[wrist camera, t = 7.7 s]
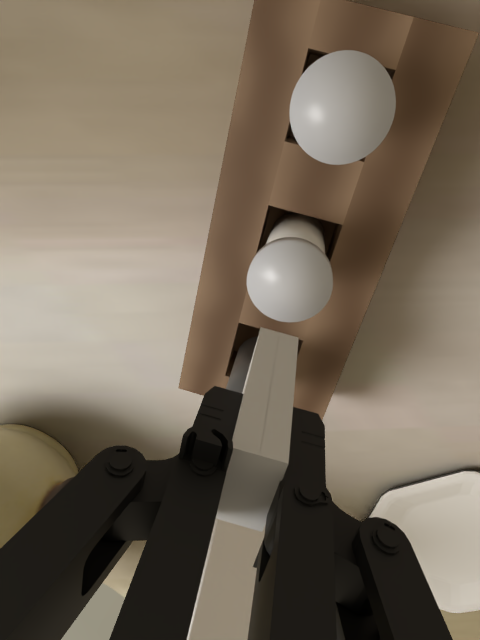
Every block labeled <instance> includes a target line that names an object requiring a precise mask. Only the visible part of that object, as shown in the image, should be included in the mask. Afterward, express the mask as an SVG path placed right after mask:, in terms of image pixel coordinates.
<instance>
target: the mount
mask: <svg viewBox="0 0 480 640" xmlns="http://www.w3.org/2000/svg"><path fill="white" fill-rule="evenodd" d="M478 35H479V33H478V32H474V31H470V30H465V29H461V28H457V27H453V26H449V25H445V24H441V23H437V22H433V21H429V20H425V19H421V18H416V17H412V16H408V15H404V14H400V13H396V12H392V11H388V10H384V9H380V8H376V7H372V6H368V5H363V4H359V3H355V2H351V1H347V0H254V5H253V10H252V15H251V20H250V25H249V30H248V35H247V41H246V46H245V51H244V56H243V61H242V66H241V71H240V76H239V82H238V87H237V92H236V97H235V102H234V107H233V112H232V117H231V122H230V128H229V133H228V138H227V143H226V148H225V153H224V158H223V163H222V168H221V174H220V179H219V184H218V189H217V194H216V199H215V204H214V209H213V214H212V220H211V225H210V230H209V235H208V240H207V245H206V250H205V255H204V261H203V266H202V271H201V276H200V281H199V286H198V291H197V296H196V301H195V307H194V312H193V317H192V322H191V327H190V332H189V337H188V342H187V347H186V353H185V358H184V363H183V368H182V373H181V378H180V383H179V389H183V390H186V391H190V392H193V393H197V394H200V395H205V393H206V392H207V391H209V390H210V389H211V388H213V387H214V386H217V387H221V388H224V389H226V386H227V383H228V380H229V377H230V374H231V371H232V368H233V365H234V362H235V359H236V356H237V353H238V350H239V348H240V346H241V345H242V344H243V343H244V342H245V341H246V340H248V339H250V338H252V337H256V336H258V335H259V331H260V328H261V327H262V328H266V329H269V330H273V331H276V332H280V333H284V334H287V335H291V336H295V337H298V338H299V339H298V352H297V364H296V376H295V389H294V401H293V407H296V408H300V409H303V410H307V411H310V412H314V413H317V414H319V416H320V418H321V420H322V419H323V416H324V414H325V412H326V409H327V407H328V404H329V402H330V399H331V397H332V394H333V392H334V389H335V387H336V384H337V382H338V380H339V377H340V375H341V372H342V370H343V367H344V365H345V362H346V360H347V357H348V355H349V352H350V350H351V348H352V345H353V343H354V340H355V338H356V335H357V333H358V330H359V328H360V325H361V323H362V320H363V318H364V315H365V313H366V311H367V308H368V306H369V303H370V301H371V298H372V296H373V293H374V291H375V288H376V286H377V283H378V281H379V279H380V276H381V274H382V271H383V269H384V266H385V264H386V261H387V259H388V256H389V254H390V251H391V249H392V247H393V244H394V242H395V239H396V237H397V234H398V232H399V229H400V227H401V224H402V222H403V219H404V217H405V215H406V212H407V210H408V207H409V205H410V202H411V200H412V197H413V195H414V192H415V190H416V187H417V185H418V182H419V180H420V178H421V175H422V173H423V170H424V168H425V165H426V163H427V160H428V158H429V155H430V153H431V150H432V148H433V146H434V143H435V141H436V138H437V136H438V133H439V131H440V128H441V126H442V123H443V121H444V118H445V116H446V114H447V111H448V109H449V106H450V104H451V101H452V99H453V96H454V94H455V91H456V89H457V86H458V84H459V81H460V79H461V77H462V74H463V72H464V69H465V67H466V64H467V62H468V59H469V57H470V54H471V52H472V49H473V47H474V45H475V42H476V40H477V37H478ZM342 50H354V51H359V52H362V53H365V54H368V55H370V56H371V57H373V58H374V59H376V60H377V61H378V62H379V63H380V64H381V65H382V66H383V67H384V68H385V69H386V71H387V72H388V74H389V76H390V78H391V80H392V83H393V85H394V90H395V97H396V109H395V115H394V119H393V122H392V125H391V127H390V130H389V132H388V133H387V135H386V137H385V138H384V140H383V141H382V142H381V144H380V145H379V146H378V147H377V148H376V149H375V150H374V151H373V152H371V153H370V154H369V155H367V156H366V157H364V158H362V159H360V160H358V161H355V162H353V163H349V164H343V165H332V164H326V163H323V162H320V161H318V160H316V159H314V158H312V157H311V156H309V155H308V154H307V153H306V152H305V151H304V150H303V149H302V148H301V147H300V145H299V144H298V142H297V141H296V139H295V137H294V134H293V132H292V128H291V124H290V114H289V112H290V102H291V97H292V94H293V91H294V88H295V86H296V84H297V82H298V80H299V79H300V77H301V76H302V74H303V73H304V72H305V70H306V69H307V68H308V67H309V66H310V65H311V64H313V63H314V62H315V61H316V60H318V59H320V58H321V57H323V56H325V55H327V54H330V53H333V52H336V51H342ZM289 212H296V213H300V214H303V215H307V216H311V217H314V218H316V219H317V220H318V221H319V222H320V223H321V225H322V227H323V230H324V235H325V255H326V256H327V258H328V260H329V262H330V264H331V268H332V273H333V289H332V293H331V296H330V299H329V301H328V302H327V304H326V305H325V307H324V308H323V309H322V310H321V311H320V312H319V313H317V314H316V315H315V316H313V317H311V318H309V319H306V320H304V321H300V322H281V321H277V320H274V319H272V318H270V317H268V316H266V315H265V314H263V313H262V312H261V311H259V309H258V308H257V307H256V306H255V305H254V304H253V302H252V300H251V298H250V296H249V294H248V290H247V273H248V270H249V267H250V265H251V262H252V260H253V258H254V256H255V255H256V253H257V252H258V251H259V250H260V249H261V248H262V247H263V246H264V245H266V242H267V240H268V237H269V234H270V232H271V229H272V227H273V225H274V223H275V222H276V221H277V220H278V219H279V218H280V217H281V216H283V215H284V214H286V213H289Z"/></svg>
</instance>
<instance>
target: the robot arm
mask: <svg viewBox="0 0 480 640" xmlns="http://www.w3.org/2000/svg"><path fill="white" fill-rule="evenodd" d="M298 339H299V338H298V337H295V336H291V335H287V334H284V333H280V332H276V331H273V330H269V329H266V328H262V327H261V328H260V331H259V335H258V338H257V342H256V345H255V349H254V353H253V356H252V360H251V363H250V367H249V370H248V374H247V377H246V381H245V384H244V388H243V392H242V393H239V392H235V391H232V390H228V389H224V388H221V387H217V386H214V387H213V388H211V389H210V390H209V391H207V392H206V393H205V395H204V398H203V400H202V403H201V406H200V408H199V411H198V414H197V416H196V419H195V422H194V424H193V427H191V428H189V429H187V431H186V432H185V434H184V435H183V438H182V443H181V448H180V452H179V454H178V455H176V456H175V457H173V458H170V459H167V460H158V461H154V460H145V458H144V456H143V455H142V454H141V453H140V452H139V451H138V450H136V449H134V448H131V447H128V446H113V447H109V448H106V449H104V450H103V451H101V452H100V453H98V454H97V455H96V456H95V457H94V458H93V459H92V460H91V461H90V462H89V463H88V464H87V465H86V466H85V467H84V468H83V469H82V470H81V471H80V472H79V473H78V474H77V475H76V476H75V477H74V478H73V479H72V480H70V481H69V482H68V483H67V484H66V485H65V486H64V487H63V488H62V489H61V490H60V491H59V492H58V493H57V494H56V495H55V496H54V497H53V498H52V499H51V500H50V501H49V502H48V503H47V504H46V505H45V506H44V507H43V508H42V509H41V510H40V511H39V512H37V513H36V514H35V515H34V516H33V517H32V518H31V519H30V520H29V521H28V522H27V523H26V524H25V525H24V526H23V527H22V528H21V529H20V530H19V531H18V532H17V533H16V534H15V535H14V536H13V537H12V538H11V539H10V540H9V541H8V542H7V543H6V544H4V545H3V546H2V547H1V548H0V640H61V639H62V637H63V636H64V634H65V633H66V632H67V630H68V629H69V628H70V626H71V625H72V623H73V622H74V620H75V619H76V618H77V617H78V615H79V614H80V613H81V611H82V610H83V608H84V607H85V606H86V604H87V603H88V602H89V600H90V599H91V598H92V596H93V595H94V593H95V592H96V591H97V589H98V588H99V587H100V585H101V584H102V583H103V581H104V580H105V578H106V577H107V576H108V574H109V573H110V572H111V570H112V569H113V567H114V566H115V565H116V563H117V562H118V561H119V559H120V558H121V557H122V555H123V554H124V552H125V551H126V550H127V548H128V547H129V546H130V544H131V543H132V541H135V540H147V542H146V545H145V547H144V550H143V552H142V555H141V558H140V560H139V563H138V566H137V568H136V571H135V574H134V576H133V579H132V581H131V584H130V587H129V589H128V592H127V595H126V597H125V600H124V603H123V605H122V608H121V610H120V613H119V616H118V618H117V621H116V624H115V626H114V629H113V632H112V634H111V637H110V639H109V640H187V636H188V632H189V628H190V624H191V619H192V615H193V611H194V607H195V603H196V598H197V594H198V590H199V586H200V582H201V577H202V573H203V569H204V565H205V561H206V556H207V552H208V548H209V544H210V540H211V535H212V531H213V527H214V523H215V519H219V520H223V521H226V522H230V523H233V524H236V525H240V526H243V527H247V528H250V529H254V530H257V531H260V532H262V531H263V529H264V526H265V524H266V526H265V534H264V539H263V541H262V544H261V547H260V549H259V552H258V554H257V557H256V559H255V562H254V565H253V567H254V568H257V571H256V579H255V586H254V594H253V601H252V609H251V616H250V624H249V631H248V639H247V640H453V639H452V637H451V635H450V632H449V630H448V628H447V625H446V623H445V621H444V619H443V616H442V614H441V612H440V609H439V607H438V605H437V603H436V600H435V598H434V596H433V593H432V591H431V589H430V587H429V584H428V582H427V580H426V577H425V575H424V573H423V571H422V568H421V566H420V564H419V561H418V559H417V557H416V555H415V552H414V550H413V548H412V545H411V543H410V541H409V540H408V538H407V536H406V535H405V533H404V532H403V531H402V530H401V529H400V528H399V527H398V526H397V525H395V524H394V523H392V522H390V521H388V520H387V519H383V518H379V517H370V518H367V519H366V520H364V521H363V522H360V521H358V520H356V519H355V518H353V517H351V516H350V515H348V514H346V513H345V512H343V511H342V510H341V509H339V508H338V507H337V506H336V505H335V504H334V503H333V501H332V498H331V494H330V493H329V491H328V490H327V488H326V478H325V450H324V449H325V440H324V438H325V426H324V424H323V422H322V420H321V418H320V416H319V414H317V413H314V412H310V411H307V410H303V409H300V408H296V407H293V401H294V389H295V376H296V364H297V352H298Z"/></svg>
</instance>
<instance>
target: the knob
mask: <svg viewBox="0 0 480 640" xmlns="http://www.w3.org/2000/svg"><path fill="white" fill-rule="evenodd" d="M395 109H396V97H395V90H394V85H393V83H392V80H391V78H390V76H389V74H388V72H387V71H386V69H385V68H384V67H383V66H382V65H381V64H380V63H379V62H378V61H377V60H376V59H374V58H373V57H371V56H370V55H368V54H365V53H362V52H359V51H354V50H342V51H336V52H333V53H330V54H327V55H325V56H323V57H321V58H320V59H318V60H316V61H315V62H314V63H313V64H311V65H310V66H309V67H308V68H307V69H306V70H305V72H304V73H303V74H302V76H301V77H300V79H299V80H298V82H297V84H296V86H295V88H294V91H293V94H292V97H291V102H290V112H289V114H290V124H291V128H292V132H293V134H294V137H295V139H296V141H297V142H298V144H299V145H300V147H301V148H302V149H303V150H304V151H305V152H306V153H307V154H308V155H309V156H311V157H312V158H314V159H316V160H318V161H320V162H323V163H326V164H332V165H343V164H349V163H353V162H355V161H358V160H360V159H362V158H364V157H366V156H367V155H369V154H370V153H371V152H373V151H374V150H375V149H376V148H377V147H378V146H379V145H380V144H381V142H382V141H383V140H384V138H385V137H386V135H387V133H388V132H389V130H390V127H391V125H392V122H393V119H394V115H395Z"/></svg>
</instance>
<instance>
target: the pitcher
mask: <svg viewBox="0 0 480 640" xmlns="http://www.w3.org/2000/svg"><path fill="white" fill-rule="evenodd" d="M78 473H79V472H78V469H77V466H76V464H75V462H74V460H73V458H72V456H71V455H70V454H69V452H68V451H67V450H66V449H65V448H64V447H63V446H62V445H61V444H60V443H59V442H57V441H56V440H55V439H53V438H52V437H50V436H48V435H47V434H45V433H43V432H41V431H39V430H37V429H34V428H32V427H28V426H25V425H18V424H4V425H0V548H1V547H2V546H3V545H4V544H6V543H7V542H8V541H9V540H10V539H11V538H12V537H13V536H14V535H15V534H16V533H17V532H18V531H19V530H20V529H21V528H22V527H23V526H24V525H25V524H26V523H27V522H28V521H29V520H30V519H31V518H32V517H33V516H34V515H35V514H36V513H37V512H39V511H40V510H41V509H42V508H43V507H44V506H45V505H46V504H47V503H48V502H49V501H50V500H51V499H52V498H53V497H54V496H55V495H56V494H57V493H58V492H59V491H60V490H61V489H62V488H63V487H64V486H65V485H66V484H67V483H68V482H69V481H70V480H72V479H73V478H74V477H75V476H76V475H77V474H78Z"/></svg>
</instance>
